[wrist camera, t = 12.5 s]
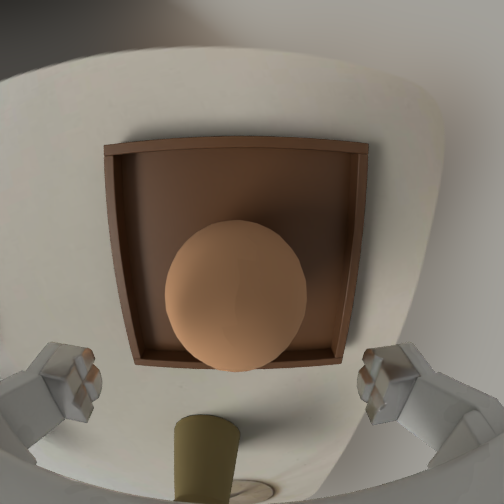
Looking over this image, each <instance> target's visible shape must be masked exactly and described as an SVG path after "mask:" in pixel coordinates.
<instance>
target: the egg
mask: <svg viewBox="0 0 504 504" xmlns="http://www.w3.org/2000/svg"><path fill="white" fill-rule="evenodd" d="M165 303H166V312H167V315H168V317H169V320H170V323H171V325H172V328H173V330H174V332H175V334H176V336H177V338H178V339H179V341H180V342H181V343H182V344H183V346H184V347H185V348H186V350H188V351H189V352H190V353H191V354H192V355H193V356H194V357H195V358H197V359H198V360H200V361H202V362H203V363H205V364H207V365H209V366H211V367H213V368H215V369H218V370H223V371H230V372H243V371H249V370H253V369H256V368H260V367H262V366H264V365H266V364H267V363H269V362H271V361H272V360H274V359H276V358H277V357H278V356H279V355H280V354H281V353H282V352H283V351H284V350H285V349H286V348H287V347H288V346H289V345H290V343H291V341H292V340H293V338H294V337H295V335H296V334H297V332H298V330H299V327H300V325H301V323H302V321H303V318H304V316H305V310H306V303H307V290H306V279H305V276H304V273H303V270H302V268H301V265H300V262H299V259H298V257H297V256H296V254H295V253H294V251H293V250H292V248H291V247H290V246H289V245H288V244H287V243H286V242H285V241H284V240H283V239H282V238H281V237H280V235H278V234H277V233H275V232H274V231H272V230H271V229H269V228H267V227H265V226H262V225H260V224H258V223H254V222H249V221H243V220H230V221H224V222H218V223H214V224H211V225H209V226H207V227H206V228H204V229H202V230H200V231H198V232H196V233H195V234H194V235H193V236H192V237H190V238H189V239H188V240H187V241H186V242H185V243H184V245H183V246H182V247H181V248H180V250H179V251H178V252H177V254H176V256H175V258H174V260H173V262H172V264H171V267H170V269H169V272H168V275H167V280H166V285H165Z"/></svg>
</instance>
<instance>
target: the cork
mask: <svg viewBox="0 0 504 504" xmlns="http://www.w3.org/2000/svg"><path fill="white" fill-rule="evenodd" d="M239 440H240V432H239V430H238V428H237V427H236V426H235V425H234V424H232V423H231V422H229V421H227V420H225V419H223V418H219V417H215V416H211V415H193V416H188V417H186V418H183V419H181V420H180V421H179V422H177V423H176V426H175V428H174V485H175V500H173V501H178V502H188V503H201V504H229V499H230V493H231V487H232V482H233V476H234V470H235V464H236V458H237V452H238V446H239Z"/></svg>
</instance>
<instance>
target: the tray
mask: <svg viewBox="0 0 504 504" xmlns="http://www.w3.org/2000/svg"><path fill="white" fill-rule="evenodd" d="M368 148H369V144H368V143H359V142H350V141H340V140H328V139H315V138H299V137H274V136H211V137H187V138H170V139H157V140H146V141H136V142H126V143H118V144H110V145H104V170H105V188H106V202H107V214H108V224H109V233H110V241H111V249H112V256H113V263H114V269H115V276H116V282H117V287H118V293H119V298H120V303H121V308H122V313H123V318H124V323H125V327H126V331H127V336H128V340H129V344H130V348H131V352H132V356H133V359H134V363H135V365H144V366H156V367H171V368H191V369H215V368H213V367H211V366H209V365H207V364H205V363H203V362H202V361H200V360H198V359H197V358H195V357H194V356H193V355H192V354H191V353H190V352H189V351H188V350H186V348H185V347H184V346H183V344H182V343H181V342H180V341H179V339H178V338H177V336H176V334H175V332H174V330H173V328H172V325H171V323H170V320H169V317H168V315H167V312H166V303H165V285H166V280H167V275H168V272H169V269H170V267H171V264H172V262H173V260H174V258H175V256H176V254H177V252H178V251H179V250H180V248H181V247H182V246H183V245H184V243H185V242H186V241H187V240H188V239H189V238H190V237H192V236H193V235H194V234H195V233H196V232H198V231H200V230H202V229H204V228H206V227H207V226H209V225H211V224H214V223H218V222H224V221H230V220H243V221H249V222H254V223H258V224H260V225H262V226H265V227H267V228H269V229H271V230H272V231H274V232H275V233H277V234H278V235H280V237H281V238H282V239H283V240H284V241H285V242H286V243H287V244H288V245H289V246H290V247H291V248H292V250H293V251H294V253H295V254H296V256H297V257H298V259H299V262H300V265H301V268H302V270H303V273H304V276H305V279H306V290H307V303H306V310H305V316H304V318H303V321H302V323H301V325H300V327H299V330H298V332H297V334H296V335H295V337H294V338H293V340H292V341H291V343H290V345H289V346H288V347H287V348H286V349H285V350H284V351H283V352H282V353H281V354H280V355H279V356H278V357H277V358H276V359H274V360H272V361H271V362H269V363H267V364H266V365H264V366H262V367H260V368H256V369H274V368H295V367H310V366H322V365H333V364H341V363H342V358H343V354H344V349H345V344H346V339H347V334H348V329H349V324H350V319H351V313H352V307H353V301H354V295H355V289H356V282H357V275H358V268H359V261H360V253H361V244H362V235H363V225H364V215H365V203H366V188H367V171H368V155H367V154H368Z"/></svg>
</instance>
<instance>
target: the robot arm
mask: <svg viewBox="0 0 504 504" xmlns="http://www.w3.org/2000/svg"><path fill="white" fill-rule="evenodd" d="M362 360H363V362H364V364H365V365H364V366H363V367H362V368H361V369H360V370H359V373H358V377H357V389H358V394H359V396H360V398H361V400H363V401H364V402H366V403H368V404H367V406H366V409H365V410H366V412H367V415H368V417H369V419H370V422H371V424H372V425H376V424H381V423H386V422H391V421H396V420H397V422H398V423H399V424H401V425H402V426H403V427H405V428H406V429H407V430H409V431H410V432H411V433H413V434H414V435H415V436H416V437H418V438H419V439H420V440H422V441H423V442H425V443H426V444H427V445H429V446H430V447H431V448H433V449H434V450H435V451H437V453H436V454H435V456H434V457H433V459H432V460H431V461H430V462H429V464H428V468H429V469H428V470H425V471H422V472H419V473H417V474H414V475H411V476H408V477H405V478H402V479H399V480H396V481H393V482H389V483H386V484H382V485H379V486H375V487H372V488H367V489H363V490H359V491H355V492H351V493H346V494H341V495H335V496H330V497H324V498H318V499H311V500H303V501H295V502H285V503H272V504H504V407H503V406H502V405H501V403H500V402H499V401H498V400H497V398H494V397H492V396H490V395H488V394H486V393H483V392H481V391H479V390H477V389H475V388H472V387H470V386H468V385H466V384H464V383H462V382H459V381H457V380H455V379H453V378H451V377H449V376H447V375H445V374H442V373H440V372H438V373H435V371H434V370H433V369H432V368H431V366H430V365H429V364H428V362H427V361H426V360H425V358H424V357H423V356H422V354H421V353H420V352H419V351H418V349H417V348H416V347H415V345H414V344H413V343H411V342H407V343H401V344H396V345H391V346H384V347H377V348H370V349H366V351H365V352H364V355H363V359H362ZM94 361H95V357H94V354H93V352H92V350H91V349H89V348H85V347H79V346H73V345H67V344H61V343H55V342H50V343H47V345H46V346H45V347H44V348H43V350H42V351H41V352H40V353H39V355H38V356H37V357H36V358H35V360H34V361H33V362H32V364H31V365H30V366H29V367H28V369H27V370H26V371H23V370H22V371H20V372H18V373H16V374H14V375H12V376H10V377H8V378H6V379H4V380H2V381H0V504H201V503H188V502H178V501H170V500H162V499H155V498H149V497H143V496H138V495H132V494H128V493H123V492H118V491H114V490H110V489H106V488H102V487H98V486H95V485H91V484H88V483H84V482H81V481H78V480H75V479H72V478H69V477H66V476H63V475H60V474H57V473H55V472H52V471H50V470H47V469H44V468H42V467H40V466H37V465H36V463H37V461H36V459H35V457H34V456H33V455H32V454H31V453H30V452H29V450H28V449H29V448H30V447H31V446H32V445H34V444H35V443H36V442H37V441H39V440H40V439H41V438H42V437H44V436H45V435H46V434H47V433H49V432H50V431H51V430H52V429H54V428H55V427H56V426H57V425H59V424H60V423H61V422H62V421H64V420H65V419H64V418H66V419H70V420H75V421H79V422H84V423H87V422H88V420H89V418H90V416H91V413H92V411H93V409H94V407H93V404H92V402H93V401H95V400H96V399H98V398H99V396H100V393H101V390H102V377H101V373H100V371H99V369H98V368H97V367H96V366H95V365H94V364H93V363H94Z"/></svg>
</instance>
